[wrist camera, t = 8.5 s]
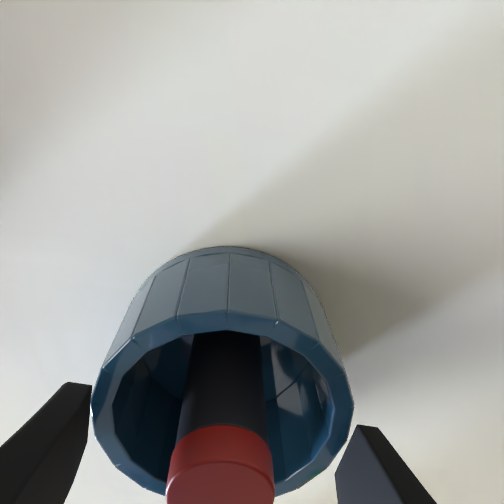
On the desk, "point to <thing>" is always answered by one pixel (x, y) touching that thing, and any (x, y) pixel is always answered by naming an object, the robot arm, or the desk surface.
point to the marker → (222, 425)
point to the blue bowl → (178, 355)
